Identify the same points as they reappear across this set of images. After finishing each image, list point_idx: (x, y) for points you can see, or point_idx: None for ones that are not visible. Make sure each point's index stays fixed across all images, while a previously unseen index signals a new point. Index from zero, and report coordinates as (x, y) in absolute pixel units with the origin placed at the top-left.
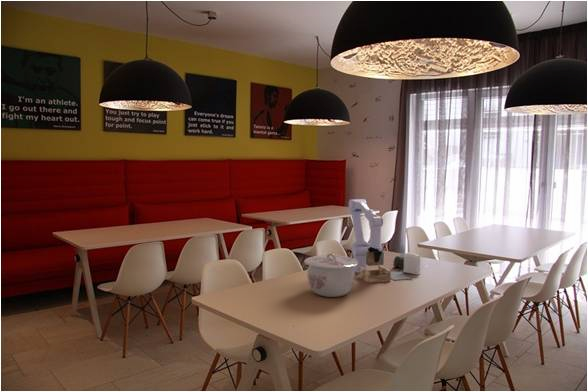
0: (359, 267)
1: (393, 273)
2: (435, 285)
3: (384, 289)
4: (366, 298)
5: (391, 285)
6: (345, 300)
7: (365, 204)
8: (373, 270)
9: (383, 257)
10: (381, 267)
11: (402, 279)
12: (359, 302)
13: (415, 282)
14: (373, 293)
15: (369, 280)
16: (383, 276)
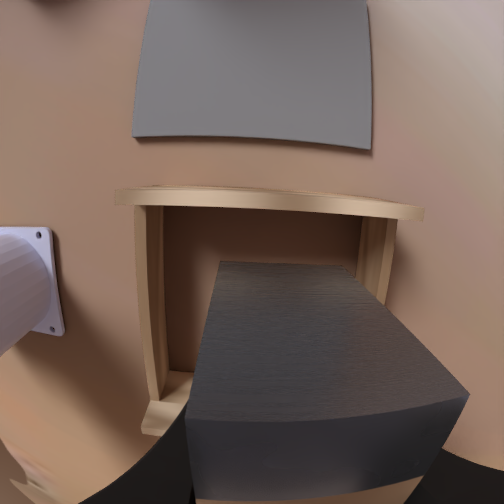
0: (154, 432)
1: (167, 37)
2: (495, 11)
3: (478, 339)
4: (487, 436)
5: (453, 256)
6: None
7: None
8: (148, 269)
9: (400, 327)
10: (202, 205)
11: (369, 71)
12: (488, 456)
13: (441, 43)
14: (477, 406)
15: None
16: (384, 282)
